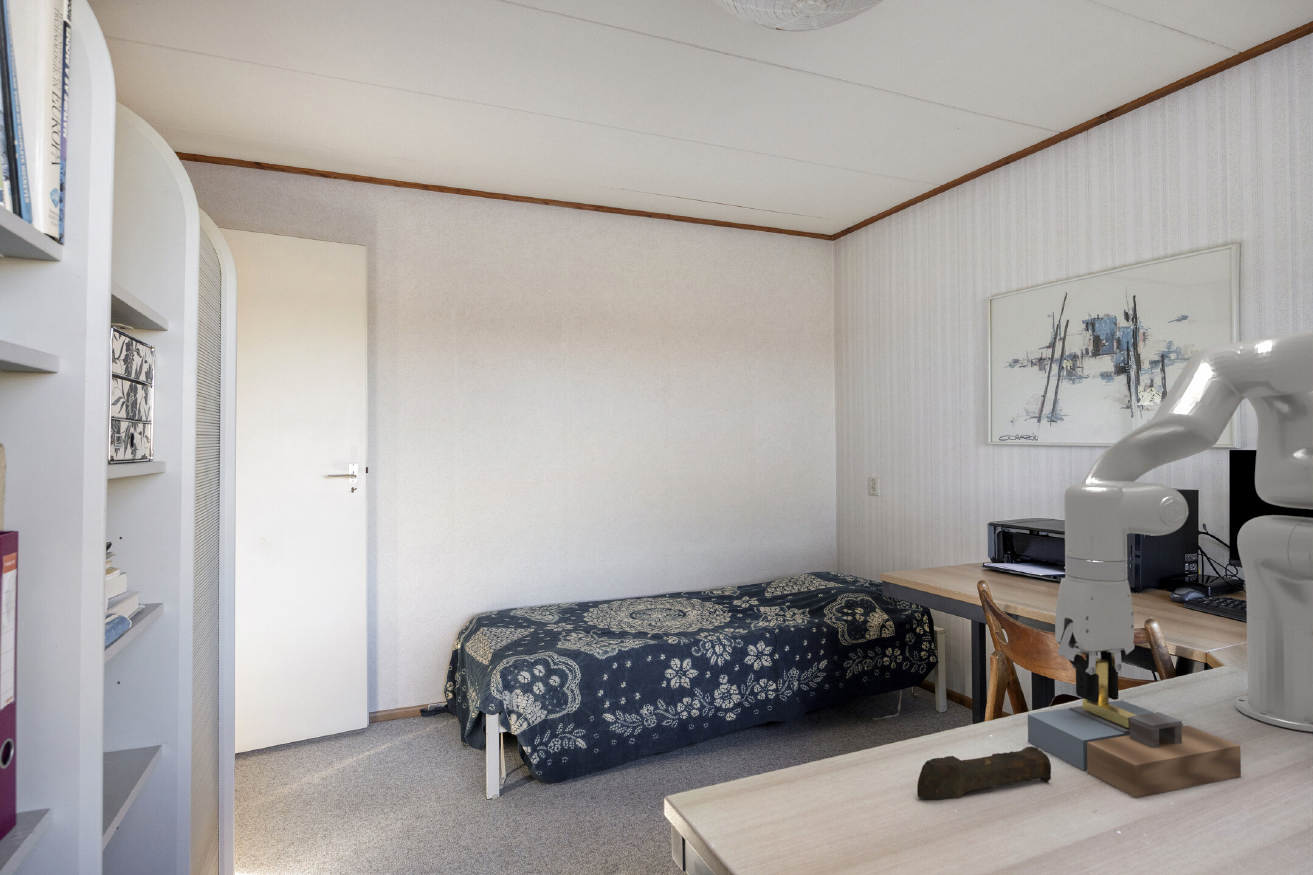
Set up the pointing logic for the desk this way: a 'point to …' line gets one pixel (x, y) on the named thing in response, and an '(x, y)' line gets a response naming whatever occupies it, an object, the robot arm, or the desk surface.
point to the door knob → (1106, 698)
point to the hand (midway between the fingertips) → (1097, 696)
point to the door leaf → (1075, 731)
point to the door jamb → (1162, 757)
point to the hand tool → (981, 773)
